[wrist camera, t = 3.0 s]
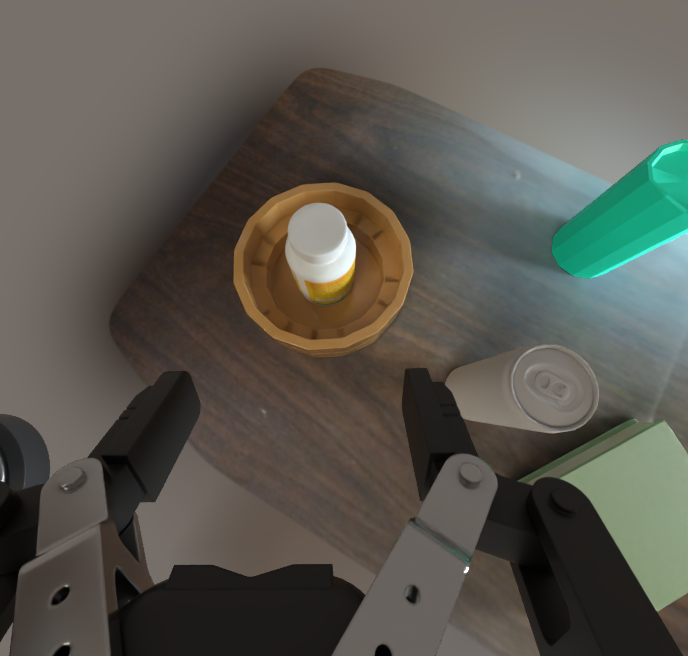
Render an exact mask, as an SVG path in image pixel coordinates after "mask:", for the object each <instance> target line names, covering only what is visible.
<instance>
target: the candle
mask: <svg viewBox="0 0 688 656" xmlns="http://www.w3.org/2000/svg"><path fill="white" fill-rule="evenodd" d="M686 233H688V140H680V141H676V142H673V143H669V144H666V145H663V146H661V147H660V148H658V149H657V150H656V151H654V152H653V153H652V154H651V155H649V156H648V157H647V158H646V159H645V160H643V161H642V162H641V163H640V164H638V165H637V166H636V167H635V168H634V169H632V170H631V171H630V172H629V173H628V174H626V175H625V176H624V177H622V178H621V179H620V180H619V181H618V182H617V183H615V184H614V185H613V186H611V187H610V188H609V189H608V190H606V191H605V192H604V193H603V194H602V195H600V196H599V197H598V198H597V199H595V200H594V201H593V202H592V203H590V204H589V205H588V206H587V207H586V208H584V209H583V210H582V211H581V212H579V213H578V214H577V215H576V216H575V217H573V218H572V219H571V220H570V221H568V222H567V223H566V224H565V225H563V226H562V227H561V228H560V230H559V231H558V232H557V233H556V234H555V235H554V237H553V241H552V253H553V255H554V257H555V259H556V261H557V263H558V265H559V266H560V267H561V268H563V269H564V270H565V271H567V272H568V273H570V274H571V275H572V276H577V277H582V278H588V279H589V278H593V277H596V276H599V275H602V274H605V273H607V272H609V271H611V270H613V269H615V268H617V267H619V266H621V265H623V264H625V263H627V262H629V261H631V260H633V259H635V258H637V257H639V256H641V255H643V254H645V253H647V252H649V251H651V250H653V249H655V248H657V247H659V246H661V245H663V244H665V243H667V242H669V241H671V240H673V239H675V238H677V237H679V236H681V235H684V234H686Z"/></svg>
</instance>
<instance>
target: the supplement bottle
mask: <svg viewBox="0 0 688 656" xmlns="http://www.w3.org/2000/svg"><path fill="white" fill-rule="evenodd" d="M285 254H286V259H287V262H288V264H289V267H290V269H291V271H292V274H293V276H294V278H295V281H296V283H297V286H298V288H299V290H300V292H301V293H302V295H303V296H304V297H305V298H306V299H307V300H308V301H310V302H311V303H313V304H316V305H319V306H331V305H335V304H338V303H340V302H342V301H343V300H344V299H345V298H346V297H347V296H348V295H349V294H350V292H351V290H352V288H353V284H354V274H355V259H356V244H355V239H354V237H353V234H352V233H351V231H350V230H349V228H348V227H347V223H346V220H345V218H344V216H343V215H342V213H341V212H340V211H339V210H338V209H337V208H335V207H333V206H332V205H329V204H326V203H311V204H307V205H305V206H303V207H301V208H300V209H298V210H297V211H296V212H295V213H294V214H293V216H292V217H291V219H290V221H289V225H288V237H287V240H286V245H285Z"/></svg>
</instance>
